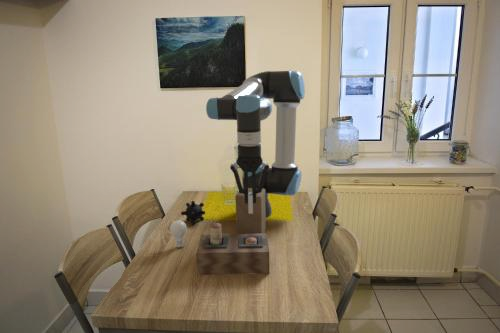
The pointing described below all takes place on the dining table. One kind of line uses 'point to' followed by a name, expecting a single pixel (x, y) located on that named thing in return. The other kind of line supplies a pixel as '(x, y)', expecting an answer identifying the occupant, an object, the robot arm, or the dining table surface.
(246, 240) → the peg
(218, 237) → the peg
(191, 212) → the toy ball
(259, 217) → the wooden block
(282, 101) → the robot arm
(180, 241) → the lightbulb
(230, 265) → the socket block
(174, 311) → the dining table surface
